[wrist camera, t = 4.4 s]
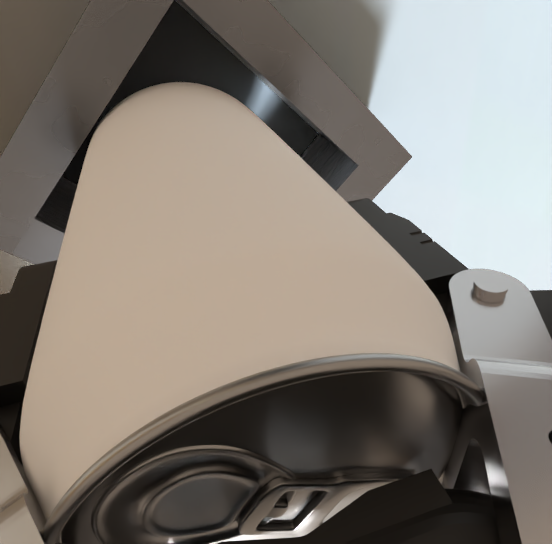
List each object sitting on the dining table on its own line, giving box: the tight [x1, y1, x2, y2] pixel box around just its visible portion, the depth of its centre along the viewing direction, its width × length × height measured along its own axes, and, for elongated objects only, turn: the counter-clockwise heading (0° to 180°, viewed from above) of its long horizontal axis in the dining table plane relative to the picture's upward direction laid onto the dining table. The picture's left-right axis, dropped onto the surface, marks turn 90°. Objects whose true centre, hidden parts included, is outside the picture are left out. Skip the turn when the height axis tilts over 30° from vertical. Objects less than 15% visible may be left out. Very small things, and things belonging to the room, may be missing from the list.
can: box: [19, 82, 483, 544], centre depth 10 cm, size 6×6×12 cm
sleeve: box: [0, 0, 412, 264], centre depth 15 cm, size 11×11×4 cm
